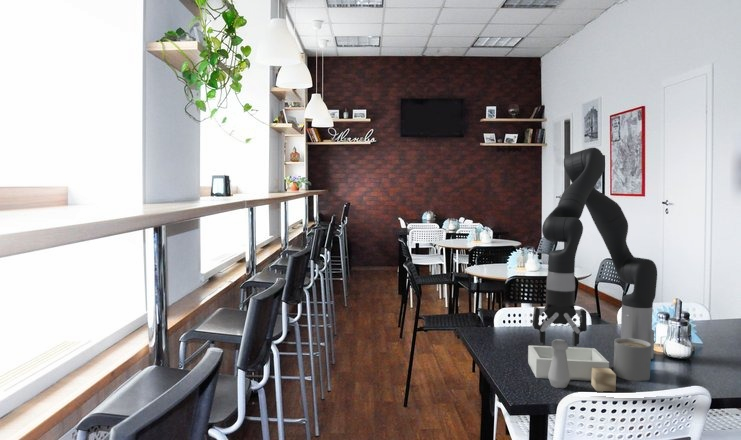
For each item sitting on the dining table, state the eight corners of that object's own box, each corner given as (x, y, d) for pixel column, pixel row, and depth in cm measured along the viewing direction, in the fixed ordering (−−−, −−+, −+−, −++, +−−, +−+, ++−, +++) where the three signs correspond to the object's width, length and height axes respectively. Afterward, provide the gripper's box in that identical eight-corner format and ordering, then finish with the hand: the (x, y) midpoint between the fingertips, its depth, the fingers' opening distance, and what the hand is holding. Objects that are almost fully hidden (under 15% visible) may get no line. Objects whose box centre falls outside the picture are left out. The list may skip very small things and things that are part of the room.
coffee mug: (641, 383, 152) (642, 349, 151) (607, 374, 159) (608, 341, 159) (660, 373, 160) (661, 341, 160) (627, 365, 168) (628, 334, 167)
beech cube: (609, 385, 150) (610, 368, 150) (615, 392, 145) (616, 374, 145) (591, 384, 150) (591, 367, 150) (596, 391, 145) (596, 373, 145)
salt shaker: (571, 390, 146) (572, 343, 145) (549, 388, 147) (550, 342, 146) (567, 383, 151) (568, 338, 151) (546, 381, 153) (547, 337, 152)
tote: (594, 365, 167) (594, 348, 167) (608, 381, 153) (609, 362, 153) (528, 362, 170) (528, 345, 170) (536, 377, 156) (536, 359, 155)
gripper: (583, 286, 151) (581, 342, 151) (532, 284, 153) (530, 340, 153) (590, 291, 143) (588, 350, 144) (536, 289, 145) (534, 347, 146)
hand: (558, 344), depth 149 cm, fingers open, 8 cm apart
